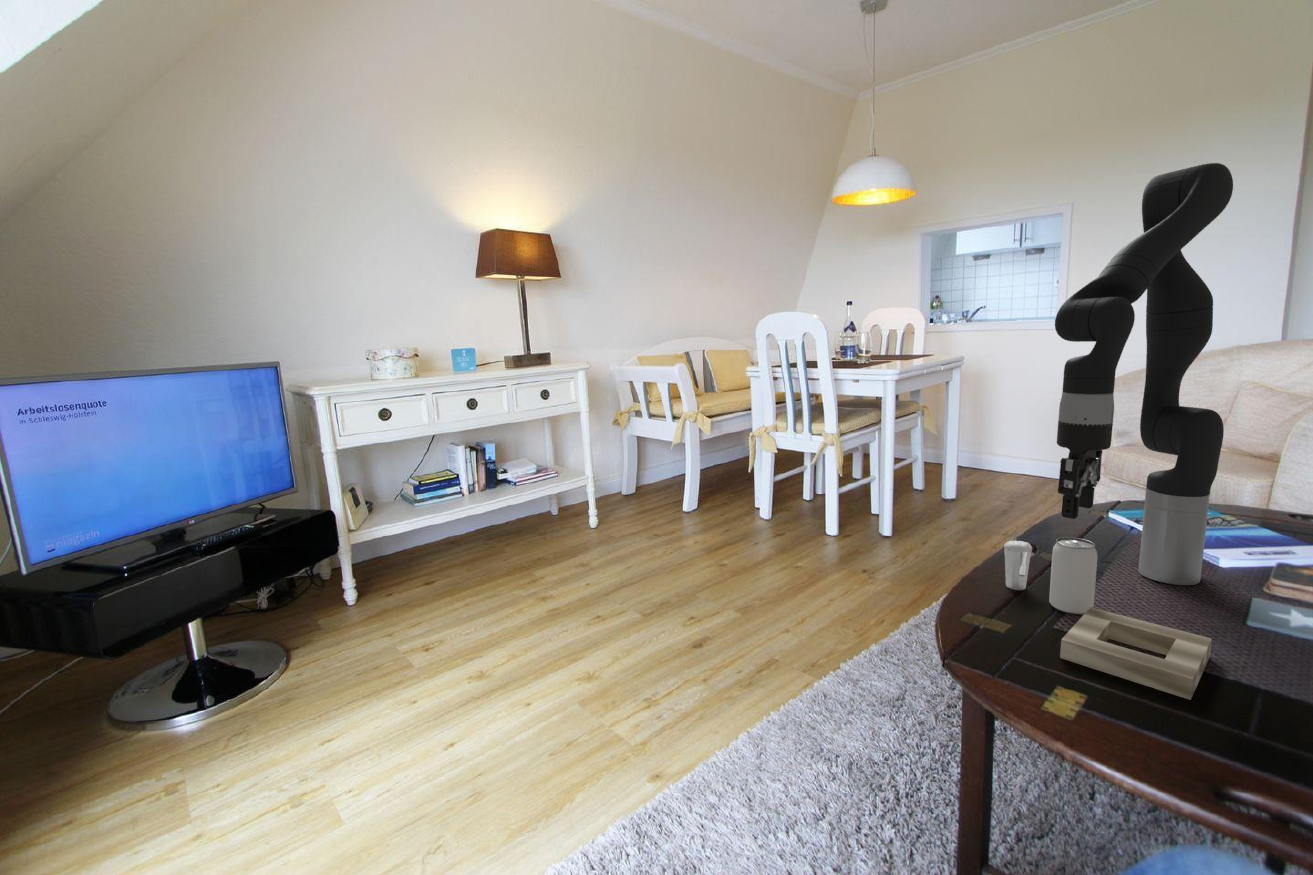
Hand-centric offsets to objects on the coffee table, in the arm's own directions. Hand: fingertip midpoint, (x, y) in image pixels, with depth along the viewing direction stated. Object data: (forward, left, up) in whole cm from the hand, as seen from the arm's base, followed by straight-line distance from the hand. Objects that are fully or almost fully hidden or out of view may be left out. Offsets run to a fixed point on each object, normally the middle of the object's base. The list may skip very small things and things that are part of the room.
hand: (1077, 512), depth 104 cm
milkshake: (-3, -10, -18) cm, 21 cm away
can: (0, 0, -18) cm, 18 cm away
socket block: (+12, +12, -17) cm, 24 cm away
